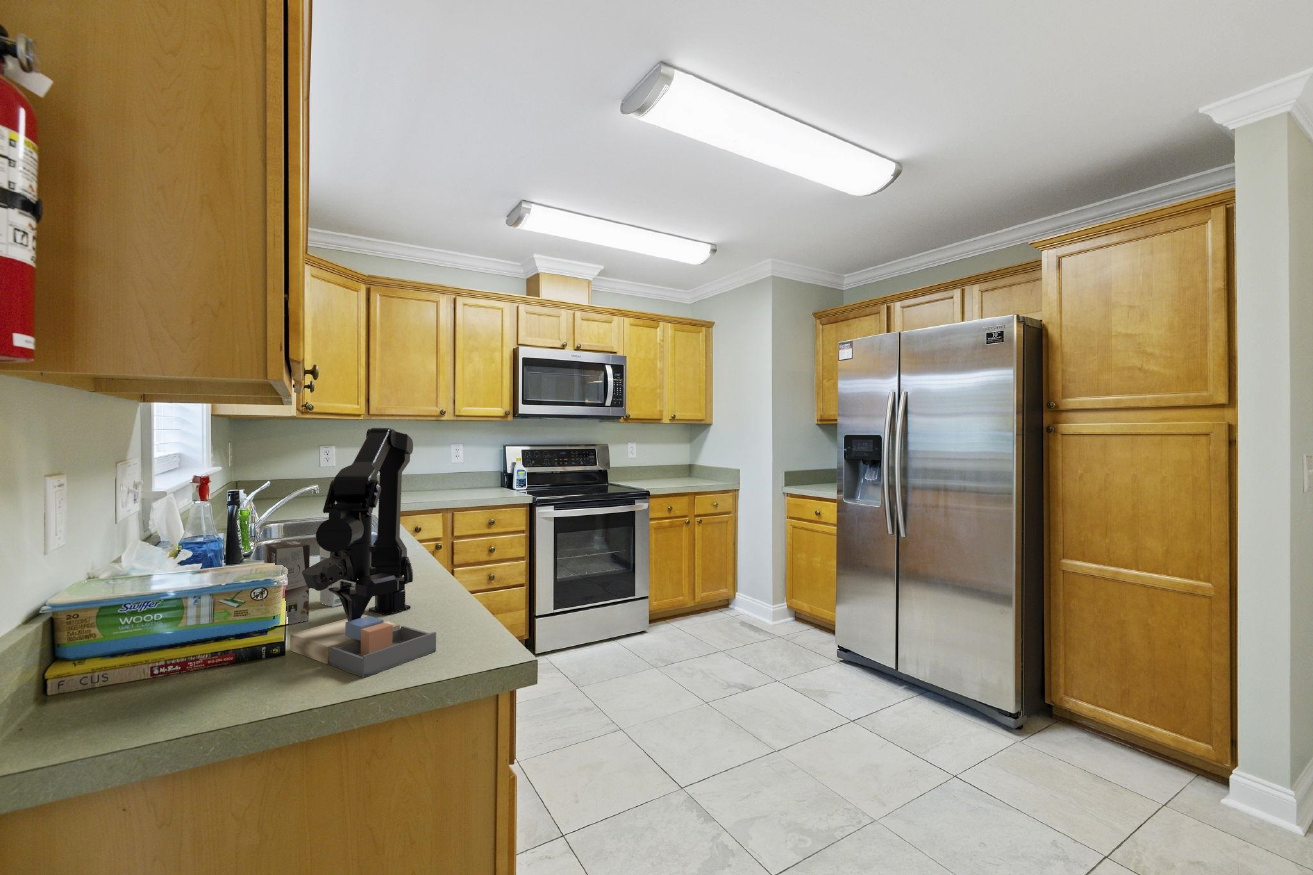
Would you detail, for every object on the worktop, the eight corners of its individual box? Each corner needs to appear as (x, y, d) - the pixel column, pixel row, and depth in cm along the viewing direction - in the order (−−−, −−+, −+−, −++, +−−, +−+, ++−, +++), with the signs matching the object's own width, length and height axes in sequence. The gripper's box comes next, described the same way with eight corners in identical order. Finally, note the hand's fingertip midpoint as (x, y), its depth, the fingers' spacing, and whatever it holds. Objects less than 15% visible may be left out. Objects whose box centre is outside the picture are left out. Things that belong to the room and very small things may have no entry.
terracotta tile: (360, 629, 104) (369, 631, 103) (384, 622, 108) (392, 624, 107) (360, 654, 104) (369, 657, 103) (383, 646, 108) (392, 649, 107)
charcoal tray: (329, 664, 101) (329, 644, 101) (401, 640, 113) (401, 622, 113) (364, 677, 96) (364, 656, 96) (436, 651, 108) (436, 632, 108)
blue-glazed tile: (345, 635, 107) (345, 622, 107) (368, 629, 111) (368, 615, 111) (360, 640, 105) (360, 626, 105) (383, 633, 109) (383, 619, 109)
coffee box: (310, 620, 124) (311, 544, 124) (275, 628, 120) (275, 548, 120) (296, 611, 131) (297, 538, 131) (262, 618, 126) (263, 542, 126)
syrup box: (332, 607, 134) (333, 543, 134) (318, 603, 137) (319, 541, 137) (357, 601, 139) (357, 540, 139) (343, 597, 142) (343, 537, 142)
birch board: (290, 650, 108) (290, 633, 108) (362, 629, 120) (362, 614, 120) (327, 664, 102) (327, 646, 102) (399, 640, 114) (399, 624, 114)
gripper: (281, 542, 107) (280, 628, 107) (340, 554, 98) (339, 648, 98) (341, 534, 117) (340, 612, 117) (400, 544, 107) (399, 630, 107)
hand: (353, 625), depth 109 cm, fingers closed
